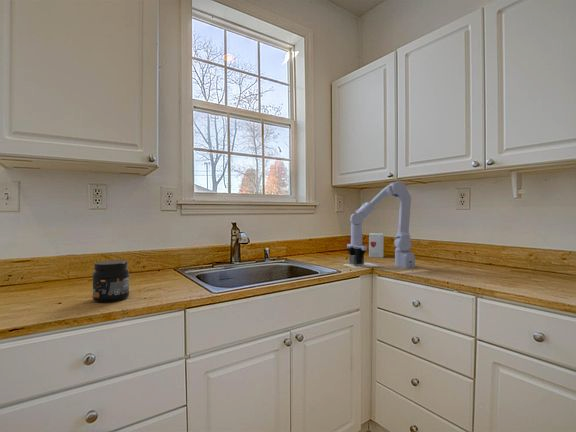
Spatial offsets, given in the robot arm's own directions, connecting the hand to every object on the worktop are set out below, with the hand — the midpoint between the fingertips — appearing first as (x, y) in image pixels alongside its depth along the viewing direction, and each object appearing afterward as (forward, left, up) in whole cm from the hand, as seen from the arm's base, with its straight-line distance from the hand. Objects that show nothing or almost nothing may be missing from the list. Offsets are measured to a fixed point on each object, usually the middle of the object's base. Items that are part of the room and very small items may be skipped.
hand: (356, 262), depth 160 cm
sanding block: (0, 0, -1) cm, 1 cm away
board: (0, -3, -2) cm, 4 cm away
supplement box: (+30, -36, -3) cm, 47 cm away
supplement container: (-19, +108, -3) cm, 110 cm away
